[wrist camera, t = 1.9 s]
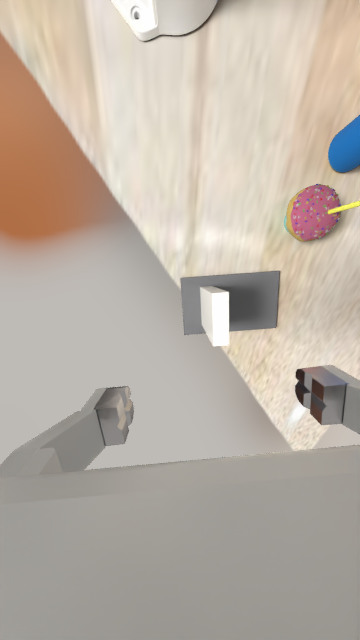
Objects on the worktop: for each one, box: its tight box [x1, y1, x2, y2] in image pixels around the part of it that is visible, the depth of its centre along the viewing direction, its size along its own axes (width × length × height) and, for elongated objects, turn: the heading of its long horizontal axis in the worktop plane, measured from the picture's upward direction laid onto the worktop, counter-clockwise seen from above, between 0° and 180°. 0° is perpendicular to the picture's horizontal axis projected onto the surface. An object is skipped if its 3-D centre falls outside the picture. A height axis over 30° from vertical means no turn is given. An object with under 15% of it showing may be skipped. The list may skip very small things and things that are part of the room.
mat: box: [181, 271, 279, 335], centre depth 39 cm, size 20×12×1 cm, turn 94°
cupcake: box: [284, 184, 360, 242], centre depth 30 cm, size 9×8×12 cm
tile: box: [200, 286, 229, 346], centre depth 33 cm, size 2×8×12 cm, turn 4°
